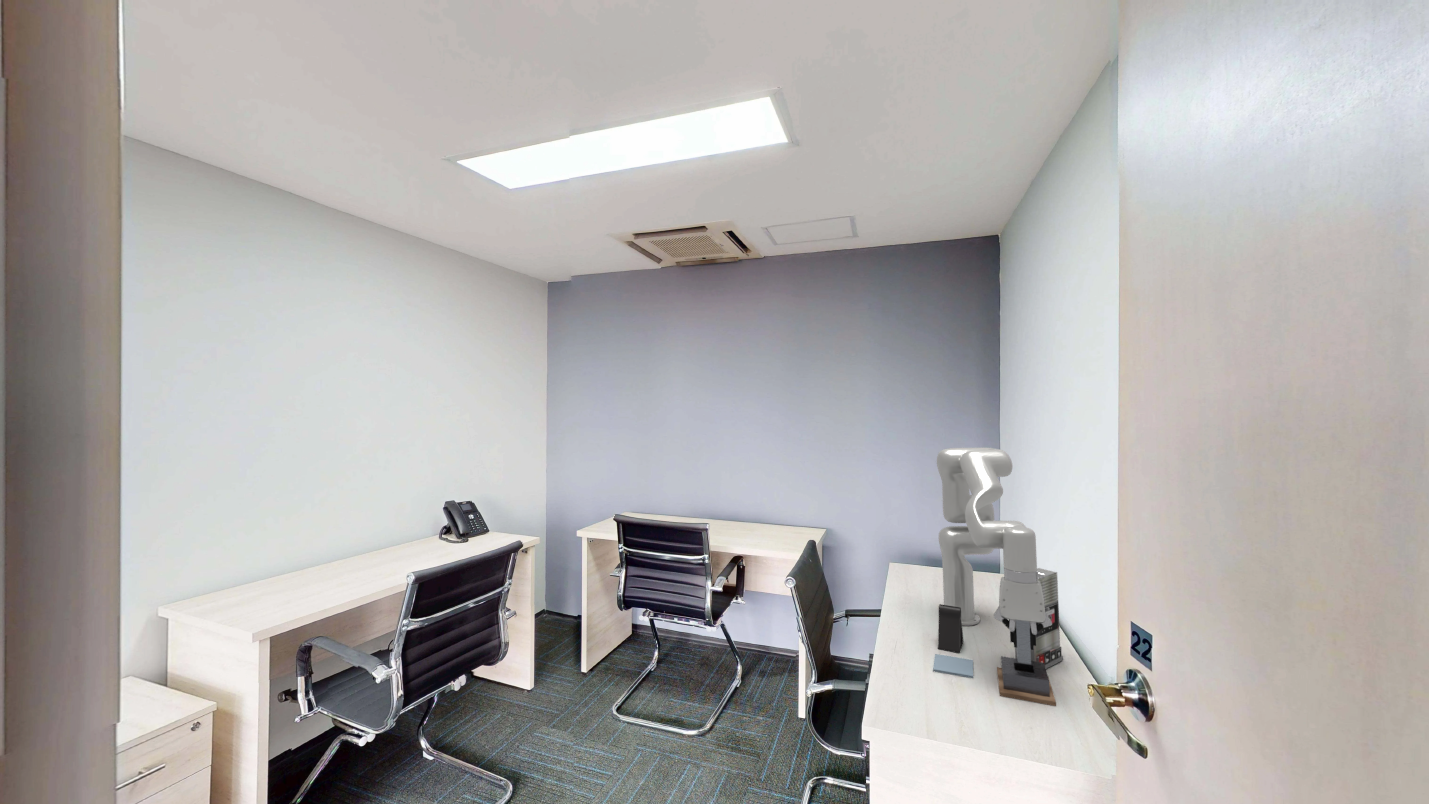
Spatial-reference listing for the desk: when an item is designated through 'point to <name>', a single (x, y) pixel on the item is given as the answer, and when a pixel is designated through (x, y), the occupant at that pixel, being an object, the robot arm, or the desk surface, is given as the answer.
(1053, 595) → the cassette tape recorder
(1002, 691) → the stand
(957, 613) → the phone stand
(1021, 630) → the key peg
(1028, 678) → the block
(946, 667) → the mat
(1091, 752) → the desk surface
